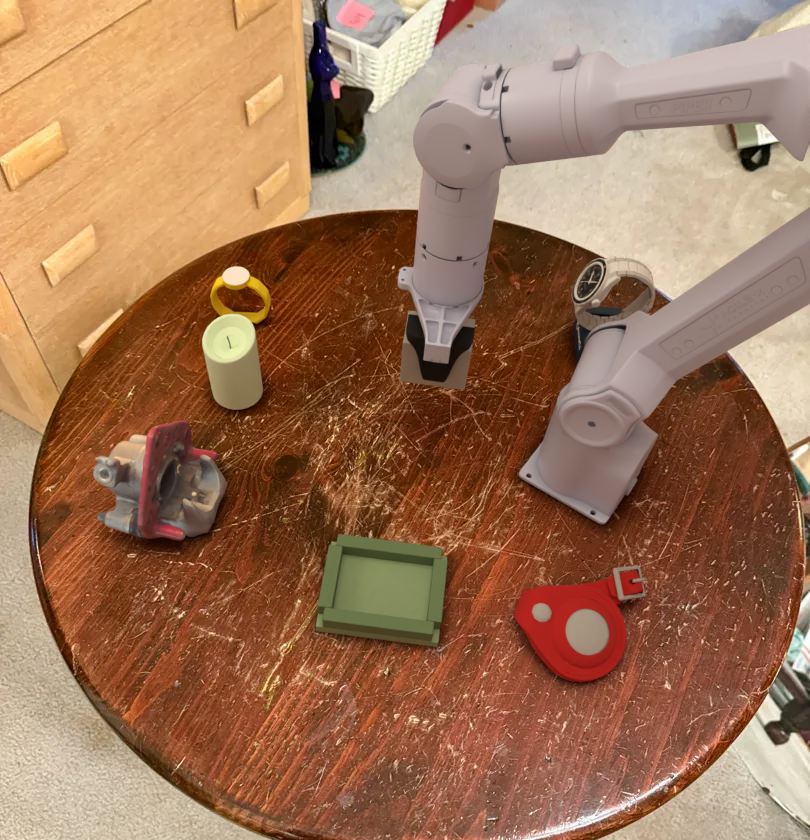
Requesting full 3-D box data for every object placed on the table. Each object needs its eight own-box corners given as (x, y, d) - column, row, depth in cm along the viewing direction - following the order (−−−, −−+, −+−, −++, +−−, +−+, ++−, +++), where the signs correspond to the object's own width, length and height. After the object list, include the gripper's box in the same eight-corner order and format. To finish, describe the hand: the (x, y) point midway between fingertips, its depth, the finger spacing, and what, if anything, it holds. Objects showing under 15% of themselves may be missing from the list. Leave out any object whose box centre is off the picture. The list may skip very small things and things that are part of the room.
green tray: (446, 561, 73) (449, 547, 71) (437, 647, 69) (440, 635, 67) (331, 546, 73) (331, 532, 71) (315, 631, 69) (314, 618, 67)
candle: (242, 418, 80) (232, 360, 73) (202, 396, 81) (188, 336, 74) (273, 386, 82) (266, 327, 75) (233, 365, 84) (222, 304, 77)
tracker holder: (616, 700, 66) (509, 646, 66) (594, 701, 71) (492, 650, 70) (665, 569, 70) (563, 516, 69) (641, 578, 74) (545, 528, 73)
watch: (555, 324, 89) (580, 242, 80) (628, 330, 90) (661, 249, 80) (558, 363, 87) (584, 282, 77) (633, 369, 87) (668, 289, 77)
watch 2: (274, 312, 88) (269, 268, 83) (270, 331, 86) (265, 287, 81) (218, 307, 88) (210, 262, 82) (213, 325, 86) (205, 282, 81)
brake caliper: (224, 560, 69) (114, 479, 61) (142, 576, 75) (33, 504, 68) (263, 456, 75) (167, 369, 67) (184, 478, 81) (88, 401, 73)
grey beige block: (468, 358, 77) (475, 319, 72) (464, 390, 75) (471, 351, 70) (405, 349, 77) (408, 309, 72) (399, 381, 75) (402, 342, 70)
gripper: (413, 171, 67) (403, 297, 78) (389, 294, 59) (382, 414, 71) (498, 182, 66) (476, 307, 78) (485, 307, 59) (462, 425, 71)
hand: (436, 359), depth 75 cm, fingers closed on grey beige block, 4 cm apart
